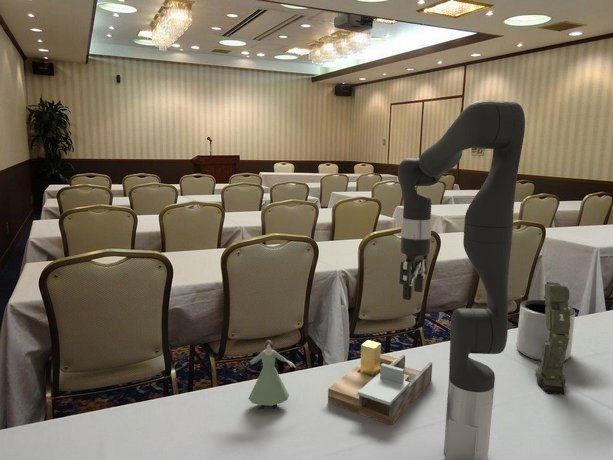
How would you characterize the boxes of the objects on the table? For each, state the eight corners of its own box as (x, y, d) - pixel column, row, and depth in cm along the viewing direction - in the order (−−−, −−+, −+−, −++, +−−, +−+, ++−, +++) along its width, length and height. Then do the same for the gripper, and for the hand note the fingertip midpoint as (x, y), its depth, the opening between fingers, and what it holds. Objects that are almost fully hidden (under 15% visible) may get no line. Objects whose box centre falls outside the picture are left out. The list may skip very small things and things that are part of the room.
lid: (389, 405, 118) (390, 388, 117) (357, 394, 123) (358, 378, 122) (409, 385, 128) (410, 369, 127) (379, 375, 132) (379, 360, 132)
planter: (580, 364, 153) (586, 316, 150) (527, 363, 153) (532, 315, 150) (556, 343, 169) (560, 299, 166) (508, 342, 169) (512, 298, 166)
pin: (360, 378, 138) (361, 344, 137) (366, 373, 142) (368, 340, 140) (373, 382, 136) (374, 348, 134) (379, 377, 139) (381, 343, 138)
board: (391, 425, 120) (392, 404, 119) (327, 402, 130) (328, 383, 129) (431, 380, 142) (432, 362, 141) (374, 364, 152) (374, 347, 151)
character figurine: (234, 418, 122) (233, 349, 118) (233, 401, 130) (232, 336, 126) (298, 412, 125) (299, 345, 121) (293, 396, 133) (293, 332, 129)
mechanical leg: (574, 399, 131) (577, 285, 132) (544, 396, 132) (548, 283, 134) (558, 386, 144) (561, 282, 146) (531, 383, 146) (535, 281, 147)
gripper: (420, 241, 122) (417, 304, 125) (438, 233, 134) (435, 291, 137) (391, 238, 126) (389, 299, 129) (411, 230, 138) (409, 287, 140)
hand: (412, 295), depth 133 cm, fingers open, 8 cm apart
